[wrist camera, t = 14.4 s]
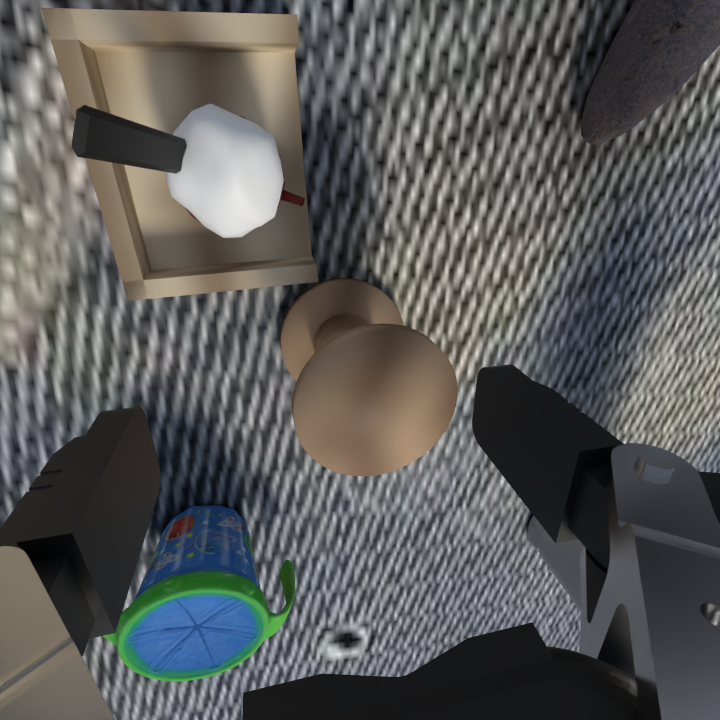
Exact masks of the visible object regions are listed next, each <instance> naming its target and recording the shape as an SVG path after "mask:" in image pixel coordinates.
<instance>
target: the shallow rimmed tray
mask: <svg viewBox="0 0 720 720" xmlns="http://www.w3.org/2000/svg"><path fill="white" fill-rule="evenodd" d="M42 11H43V15H44V18H45V21H46V25H47V28H48V31H49V35H50V38H51V42H52V45H53V48H54V52H55V55H56V59H57V62H58V65H59V69H60V72H61V76H62V79H63V82H64V86H65V89H66V93H67V96H68V99H69V103H70V106H71V110H72V113H73V116H74V120H75V117H76V110H77V109H78V108H80V107H81V106H83V105H87V106H89V107H92V108H95V109H98V110H101V111H104V112H107V113H110V114H113V115H116V116H119V117H122V118H125V119H127V120H130V121H133V122H136V123H139V124H142V125H145V126H148V127H151V128H154V129H157V130H160V131H163V132H165V133H168V134H171V135H173V133H174V131H175V130H176V129H177V128H178V126H179V125H180V124H181V123H182V122H183V121H184V119H185V118H186V117H187V116H188V115H189V114H190V113H191V111H193V110H195V109H198V108H200V107H203V106H205V105H207V104H214V105H216V106H218V107H220V108H222V109H224V110H227V111H229V112H231V113H233V114H235V115H239V116H243V117H244V118H246V119H247V120H249V121H251V122H253V123H256V124H257V125H259V126H260V127H261V128H263V129H264V130H265V131H267V132H268V133H270V134H271V135H272V136H274V138H275V142H276V146H277V150H278V153H279V155H280V156H281V161H282V167H283V174H284V180H285V186H284V190H286V191H288V192H290V193H293V194H295V195H297V196H300V197H302V198H304V199H305V201H304V204H303V206H299V205H296V204H293V203H290V202H286V201H283V200H281V201H280V204H279V207H278V208H277V211H276V215H275V217H274V218H272V219H271V220H269V221H268V222H266V223H265V224H263V225H262V226H260V227H257V228H255V229H253V230H252V231H250V232H249V233H247V234H246V235H244V236H243V237H234V238H223V237H221V236H220V235H218V234H216V233H215V232H213V231H211V230H210V229H208V228H206V227H205V226H204V225H203V224H202V223H201V222H200V221H198V220H196V219H194V218H193V217H192V216H191V215H190V213H189V212H188V211H187V210H186V208H185V207H184V206H183V205H181V204H180V203H179V202H177V201H176V200H175V199H174V198H172V196H171V193H170V190H169V187H168V184H167V180H166V177H165V172H163V171H157V170H152V169H146V168H140V167H134V166H129V165H123V164H117V163H112V162H106V161H100V160H94V159H89V158H86V161H87V164H88V167H89V171H90V174H91V178H92V181H93V184H94V188H95V191H96V194H97V198H98V201H99V205H100V208H101V211H102V215H103V218H104V222H105V225H106V228H107V232H108V235H109V239H110V242H111V245H112V249H113V252H114V256H115V259H116V262H117V266H118V269H119V273H120V276H121V279H122V283H123V286H124V290H125V293H126V296H127V300H128V301H131V300H141V299H151V298H161V297H171V296H182V295H192V294H202V293H212V292H222V291H232V290H242V289H252V288H262V287H272V286H282V285H292V284H302V283H313V282H318V272H317V264H316V262H315V261H314V259H313V257H312V252H311V240H310V228H309V217H308V205H307V193H306V182H305V170H304V158H303V147H302V135H301V123H300V111H299V100H298V88H297V76H296V65H295V50H296V48H297V46H298V44H299V36H298V24H297V15H293V14H255V13H217V12H179V11H141V10H104V9H66V8H42Z"/></svg>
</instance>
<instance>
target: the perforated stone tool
mask: <svg viewBox="0 0 720 720" xmlns="http://www.w3.org/2000/svg"><path fill="white" fill-rule="evenodd" d="M719 45H720V0H635V1H634V3H633V5H632V6H631V8H630V10H629V12H628V14H627V15H626V17H625V19H624V21H623V23H622V25H621V27H620V29H619V31H618V32H617V34H616V36H615V38H614V40H613V42H612V44H611V46H610V48H609V50H608V52H607V54H606V56H605V58H604V60H603V62H602V64H601V67H600V68H599V71H598V73H597V75H596V77H595V79H594V82H593V84H592V86H591V89H590V91H589V94H588V97H587V100H586V103H585V107H584V111H583V115H582V121H581V135H582V137H583V140H584V141H585V142H586V141H587V142H588V143H591V144H595V143H601V142H606V141H608V140H611V139H613V138H616V137H618V136H620V135H622V134H624V133H626V132H627V131H629V130H630V129H631V128H633V127H634V126H635V125H637V124H638V123H639V122H640V121H642V120H643V119H644V118H646V117H647V116H649V115H650V114H651V113H652V112H654V111H655V110H656V109H657V108H658V107H659V106H660V105H661V104H663V103H664V102H666V101H667V100H668V99H669V98H670V97H671V96H672V95H674V94H675V93H676V92H677V91H678V90H679V89H680V88H681V87H682V86H683V85H684V84H685V83H686V82H687V80H688V79H689V78H690V77H691V76H692V75H693V74H694V73H695V72H696V71H697V69H698V68H699V67H700V66H701V65H702V64H703V63H704V62H705V61H706V60H707V58H708V57H709V56H710V55H711V54H712V53H713V52H714V50H715V49H716V48H717V47H718V46H719Z"/></svg>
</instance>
